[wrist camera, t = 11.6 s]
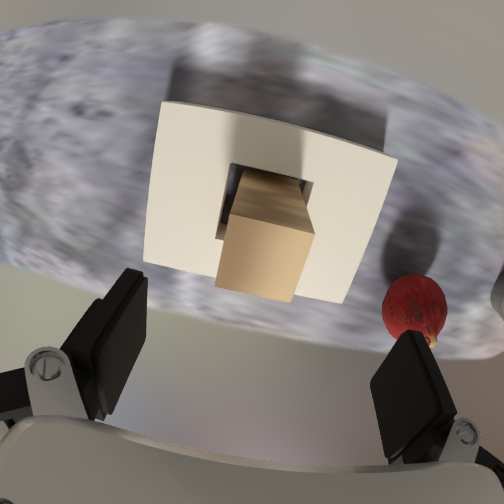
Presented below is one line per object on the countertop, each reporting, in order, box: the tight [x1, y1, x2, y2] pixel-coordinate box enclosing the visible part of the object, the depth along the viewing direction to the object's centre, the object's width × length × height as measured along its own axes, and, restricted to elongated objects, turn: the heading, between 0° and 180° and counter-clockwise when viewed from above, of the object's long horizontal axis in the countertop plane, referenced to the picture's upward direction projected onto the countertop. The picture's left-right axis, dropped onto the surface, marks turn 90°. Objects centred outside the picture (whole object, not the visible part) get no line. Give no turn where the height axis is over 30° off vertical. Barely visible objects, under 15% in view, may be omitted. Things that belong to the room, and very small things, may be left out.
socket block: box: [143, 101, 398, 304], centre depth 23 cm, size 16×12×3 cm
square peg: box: [215, 167, 315, 303], centre depth 20 cm, size 4×4×10 cm
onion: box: [382, 274, 447, 348], centre depth 24 cm, size 6×6×8 cm
